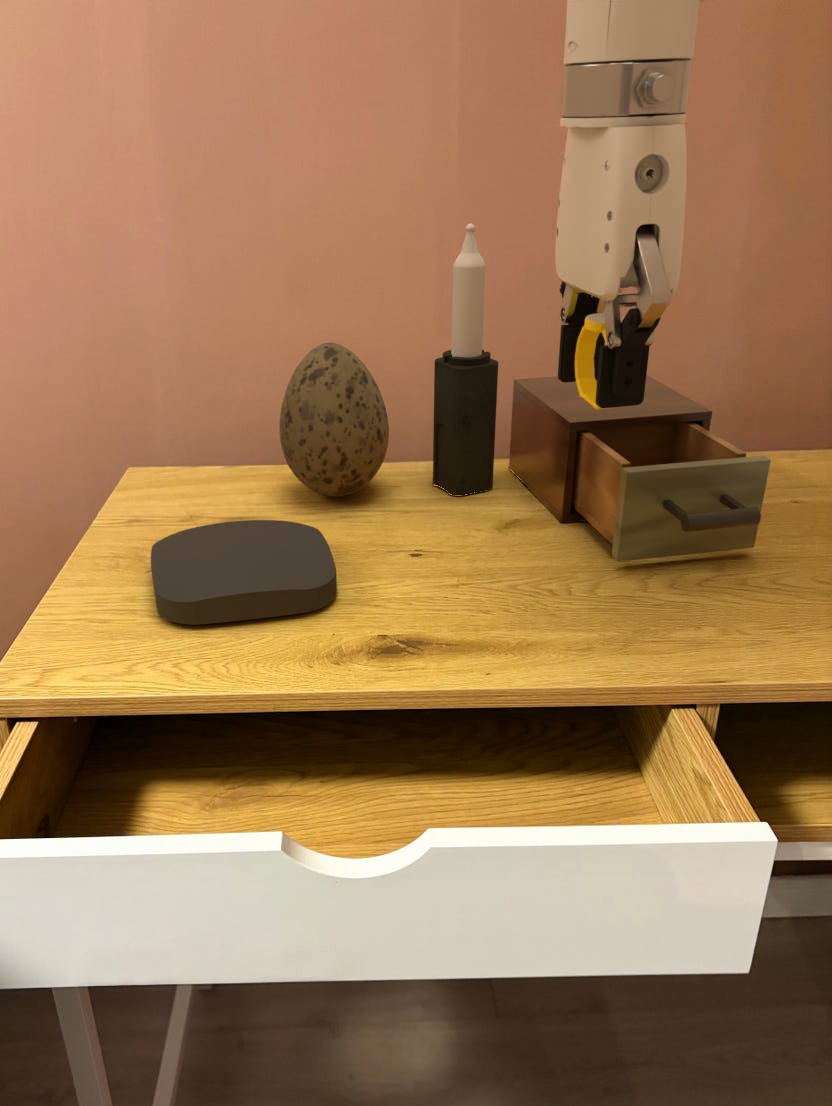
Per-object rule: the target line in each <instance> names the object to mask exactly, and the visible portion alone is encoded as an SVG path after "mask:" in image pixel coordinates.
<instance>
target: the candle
mask: <svg viewBox="0 0 832 1106" xmlns="http://www.w3.org/2000/svg"><path fill="white" fill-rule="evenodd" d="M475 230H476V226H475V224H473V223H468V224H467V225H466V226H465V231H466V234H465V237H464V240H463V243H462V247H461V250H460V252H459V254H458V256H457V257H456V259H455V260H454V262H453V266H452V268H453V269H452V305H451V307H452V308H451V348H450V349H447V350H445V351H443V352H442V357H438V358H437V357H436V359H434V369H433V371H434V373H433V374H434V375H433V376H434V378H433V432H432V433H433V435H432V436H433V439H432V440H433V441H432V442H433V444H432V445H433V447H432V485H433V484H435V485H438V486H440V487H442V488H444V489H445V490H447V491H448V493H450V494H452V495H465V494H470V493H474V492H475V493H476V492H480V491H485V490H489V489H491V488H492V487H493V488H494V467H495V466H494V465H495V444H496V442H495V441H496V422H497V402H498V379H499V361H498V360H496V359H494V358H491V352H490V351H485V349H483V337H484V336H483V332H484V329H483V328H484V309H485V307H484V306H485V285H486V284H485V283H486V281H485V280H486V277H485V276H486V262H485V260H484V258H483V257H482V255H481V253H480V252H479V248H478V243H477V239H476V236H475ZM493 488H492V489H493ZM492 489H491V490H492ZM489 491H490V490H489ZM485 492H486V491H485ZM448 493H447V494H448ZM480 493H481V492H480ZM476 494H477V493H476Z"/></svg>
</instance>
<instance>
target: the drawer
mask: <svg viewBox="0 0 832 1106" xmlns="http://www.w3.org/2000/svg"><path fill="white" fill-rule="evenodd" d="M771 462H772V461H771V459H770V458H769V457H767V456H765V455H753V456H747V452H745V451H743V450H742V449H740V448H738V447H737V446H735V445H733V444H731V443H729V442H728V441H727V440H725V439H723V438H721V437H719V436H718V435H716V434H714V433H713V432H711V431H710V430H709V431H708V430H706V429H704V428H703V427H701V426H699V425H698V424H696V423H694V422H692V421H689V422H677V423H665V424H652V425H640V426H627V427H615V428H603V429H590V430H578V431H577V442H576V453H575V464H574V475H573V486H572V497H571V506H572V507H574V508H575V509H576V510H577V511H578V512H579V513H580V514H581V515H582V516H583V517H584V518H585V519H586V520H587V521H586V522H588V523H589V524H590V526H592V527H593V528H594V529H595V530H596V531H597V532H598V533H599V534H601V536H602V537H603V538H604V539H606V540H607V542H608V543H610V544H611V545H612V548H611V557H612V558H613V559H614V560H615V561H616V562H626V561H635V560H645V559H656V558H665V557H675V556H684V555H694V554H704V553H715V552H723V551H733V550H734V551H735V550H742V549H753V548H755V545H756V539H757V534H758V529H759V525H760V523H761V520H762V514H761V513H762V508H763V504H764V503H763V502H764V499H765V492H766V487H767V484H768V483H767V482H768V477H769V472H770V466H771Z"/></svg>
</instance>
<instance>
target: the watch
mask: <svg viewBox="0 0 832 1106" xmlns="http://www.w3.org/2000/svg"><path fill="white" fill-rule="evenodd" d="M625 316H626V315H622V314H620V318H621V322H622V321H623V319H624V317H625ZM600 333H602V334H603V337H604V340H605V346H606V345H607V341H606V327H605V312H603V313H597V314H591V315H588V316H586V317H585V324H584V326H583V327H582V330H581V332H580V335H579V337H578V339H577V340H578V341H577V344H576V351H575V360H574V361H575V378H576V384H577V388H578V392H579V395H580V396H579V397H582V398H583V399H585V400H586V401H587V402H588V403H590V404H591V405H592V406H593V407H594V408H595V409H596V410H601V409H611V408H600V407H599V406H597V405H596V402H595V400H596V389H597V384H596V380H595V377H594V376H595V374H594V354H595V347H596V340H597V338H598V336H599V334H600ZM613 408H614V407H613Z"/></svg>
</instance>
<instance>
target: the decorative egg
mask: <svg viewBox="0 0 832 1106" xmlns="http://www.w3.org/2000/svg"><path fill="white" fill-rule="evenodd" d="M388 418H389V417H388V413H387V409H386V405H385V401H384V398H383V395H382V393H381V390H380V388H379V386H378V384H377V382H376V380H375V379H374V376H373V375H372V374H371V372H370V370H369V369H368V368H367V366H366V365H365V363H364V362H363V361H362V360H361V359H360V357H358V356H357V355H356V354H355V353H354V352H353V351H352V350H350V349H349V348H348V347H345V345H342V344H340V343H336V342H324V343H320V344H318V345H316V346H314V347H313V348H312V349H311V350H309V351H308V353H307V354H306V355H305V356H304V357H303V358H301V360H300V362H299V363H298V365H297V366H296V368H295V370H294V372H293V374H292V375H291V377H290V379H289V382H288V384H287V386H286V389H285V392H284V396H283V398H282V404H281V408H280V415H279V440H280V447H281V450H282V454H283V457H284V459H285V461H286V464H287V466H288V468H289V469H290V471H291V472H292V473H293V475H294V476H295V477H296V478H297V480H298V481H299V482H301V484H303V485H304V486H305V487H307V489H309V490H311V491H312V492H315V493H317V494H320V495H322V496H325V497H345V496H349V495H352V494H354V493H356V492H358V491H360V490H361V489H362V488H364V487H366V486H367V485H368V484H369V483H370V482H371V481H372V480H373V478H375V476H376V475H377V473H378V472H379V470H380V469H381V467H382V465H383V463H384V461H385V458H386V455H387V451H388V447H389V440H390V439H389V437H390V427H389V419H388Z"/></svg>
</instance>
